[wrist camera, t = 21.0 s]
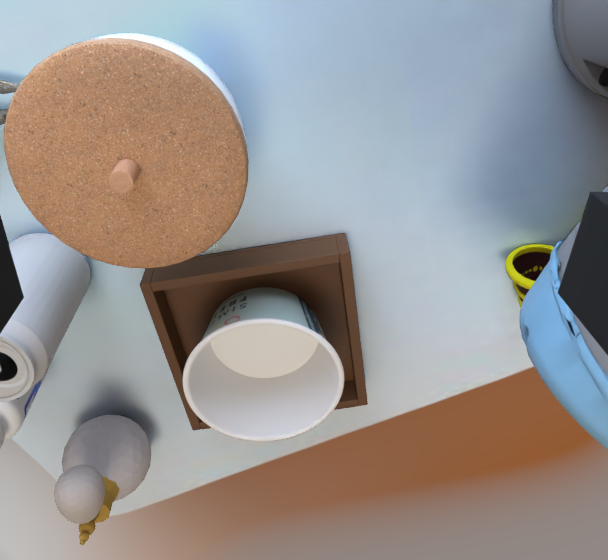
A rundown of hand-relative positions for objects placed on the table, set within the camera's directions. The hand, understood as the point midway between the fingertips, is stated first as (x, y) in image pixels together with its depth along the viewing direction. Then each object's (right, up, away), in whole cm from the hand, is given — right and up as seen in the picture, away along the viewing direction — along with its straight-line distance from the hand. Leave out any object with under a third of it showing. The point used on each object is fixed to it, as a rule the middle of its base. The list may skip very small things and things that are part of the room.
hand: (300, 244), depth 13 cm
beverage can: (-20, 0, +30) cm, 36 cm away
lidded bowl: (-10, +10, +25) cm, 28 cm away
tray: (-3, -5, +34) cm, 35 cm away
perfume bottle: (-18, -14, +39) cm, 45 cm away
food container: (-3, -5, +34) cm, 35 cm away
